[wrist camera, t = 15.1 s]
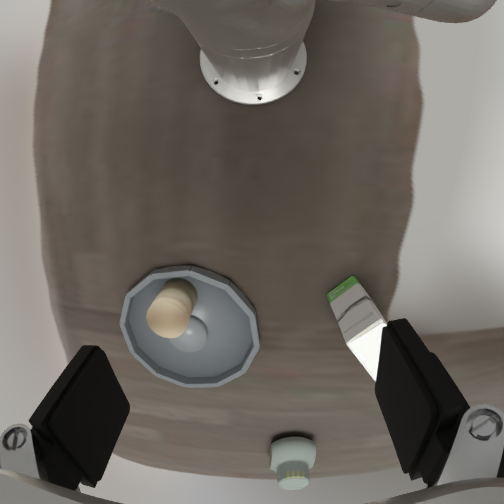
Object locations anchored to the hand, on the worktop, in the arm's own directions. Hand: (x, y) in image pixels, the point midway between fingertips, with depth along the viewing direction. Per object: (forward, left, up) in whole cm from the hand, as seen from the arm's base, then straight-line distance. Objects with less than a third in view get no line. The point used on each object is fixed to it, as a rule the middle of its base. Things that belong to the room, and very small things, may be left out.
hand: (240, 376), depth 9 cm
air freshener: (+48, +1, -31) cm, 57 cm away
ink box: (+16, +12, -31) cm, 36 cm away
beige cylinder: (+11, -12, -30) cm, 34 cm away
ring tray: (+17, -12, -30) cm, 37 cm away
